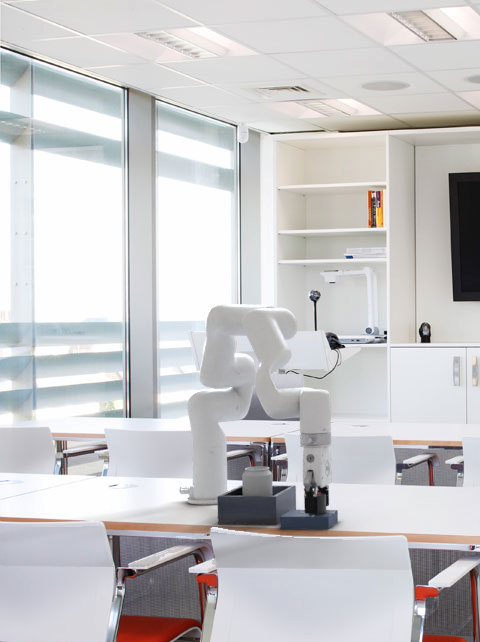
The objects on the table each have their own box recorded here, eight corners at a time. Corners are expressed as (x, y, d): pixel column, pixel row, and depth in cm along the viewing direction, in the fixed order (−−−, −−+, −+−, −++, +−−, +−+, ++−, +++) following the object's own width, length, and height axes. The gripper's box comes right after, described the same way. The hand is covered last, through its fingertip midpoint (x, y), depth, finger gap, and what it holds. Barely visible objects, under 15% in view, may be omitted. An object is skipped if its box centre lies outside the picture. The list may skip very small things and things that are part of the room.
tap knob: (323, 514, 241) (322, 495, 241) (305, 514, 242) (305, 494, 242) (328, 511, 245) (328, 492, 245) (311, 511, 246) (311, 491, 246)
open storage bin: (217, 524, 247) (217, 496, 247) (241, 511, 264) (240, 485, 264) (276, 524, 245) (275, 496, 245) (296, 511, 262) (295, 485, 262)
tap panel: (280, 529, 240) (279, 515, 240) (291, 521, 249) (290, 509, 249) (329, 529, 239) (329, 516, 239) (339, 521, 248) (338, 509, 247)
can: (278, 512, 257) (277, 465, 256) (263, 517, 250) (262, 469, 249) (253, 510, 259) (252, 464, 259) (237, 516, 252) (236, 468, 252)
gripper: (320, 444, 234) (322, 516, 234) (339, 435, 251) (341, 503, 252) (290, 444, 235) (291, 516, 235) (311, 436, 252) (312, 503, 253)
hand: (317, 509), depth 243 cm, fingers open, 9 cm apart
